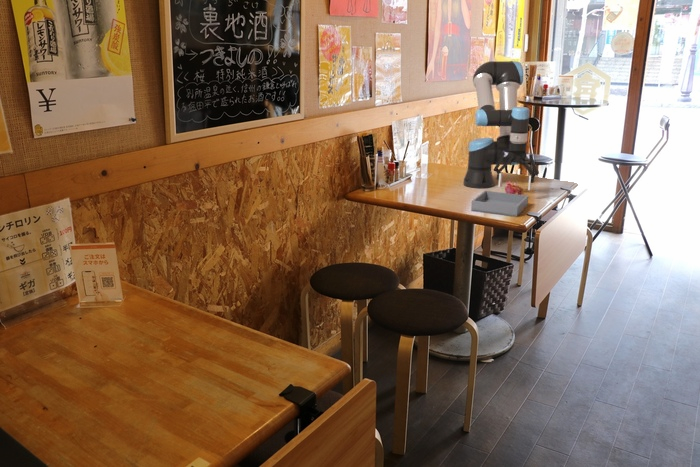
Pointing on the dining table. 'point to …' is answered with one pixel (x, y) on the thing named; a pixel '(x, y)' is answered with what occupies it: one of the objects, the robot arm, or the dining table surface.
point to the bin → (500, 203)
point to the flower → (513, 188)
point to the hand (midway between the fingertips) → (514, 188)
